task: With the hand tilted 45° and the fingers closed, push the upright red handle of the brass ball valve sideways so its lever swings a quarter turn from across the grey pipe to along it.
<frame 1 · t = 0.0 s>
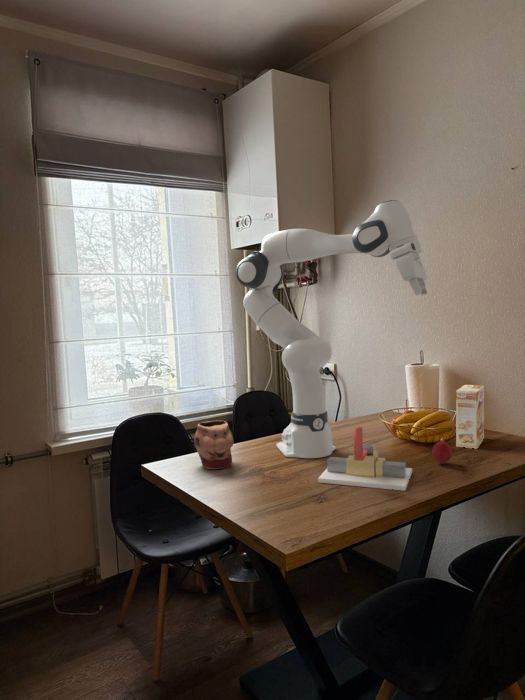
hand: (421, 294, 156), 52 cm above the table, tool tilted 20°, fingers open, 8 cm apart
coffeecake box: (470, 443, 182), on the table
valve and pipe: (366, 477, 150), resting on mounting board
decorative planter: (214, 465, 168), on the table
lever: (362, 439, 145), point 12 cm above the table, hinge at -45.0°
onion: (442, 464, 160), on the table
mounting board: (366, 477, 150), on the table
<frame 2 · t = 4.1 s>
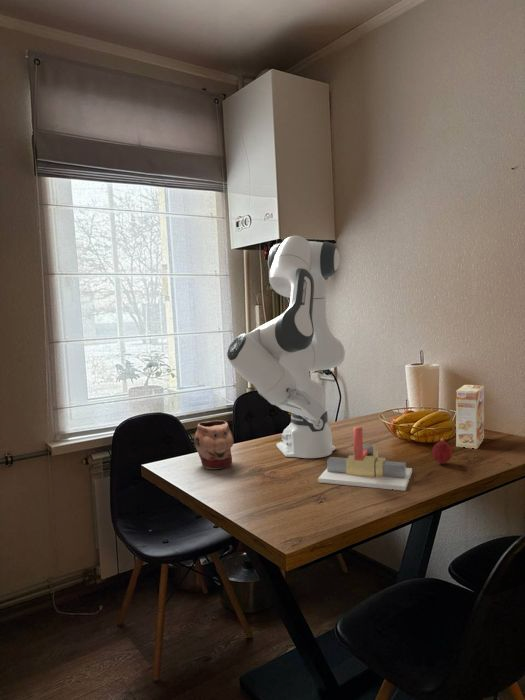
hand: (314, 421, 134), 20 cm above the table, tool tilted 45°, fingers closed
nothing on the table moved.
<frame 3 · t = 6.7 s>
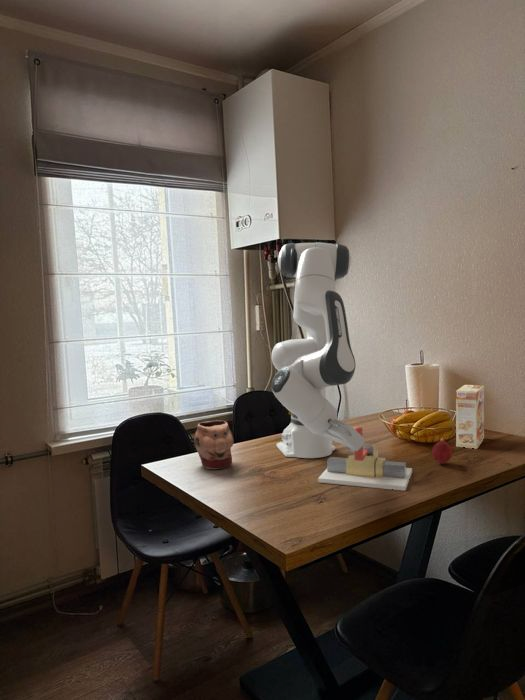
hand: (353, 448, 140), 11 cm above the table, tool tilted 45°, fingers closed, pressing on lever
lever: (362, 439, 145), point 12 cm above the table, hinge at -45.0°, touching gripper
everything else where it was.
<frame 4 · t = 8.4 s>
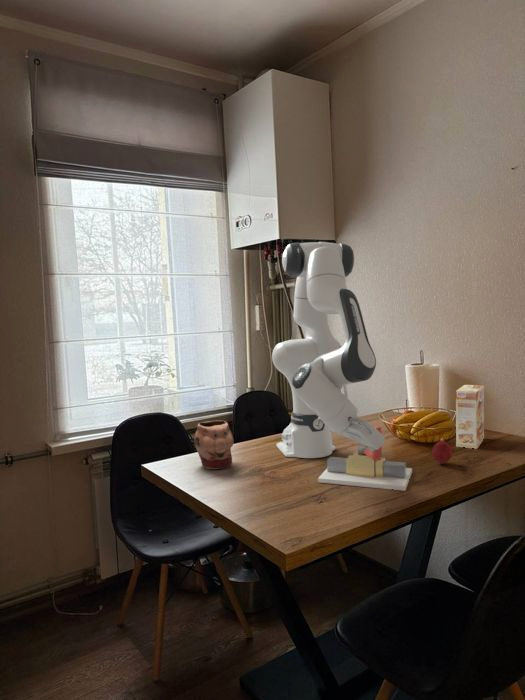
hand: (372, 448, 139), 11 cm above the table, tool tilted 45°, fingers closed, pressing on lever
lever: (370, 439, 145), point 12 cm above the table, hinge at -14.6°, touching gripper
everything else where it was.
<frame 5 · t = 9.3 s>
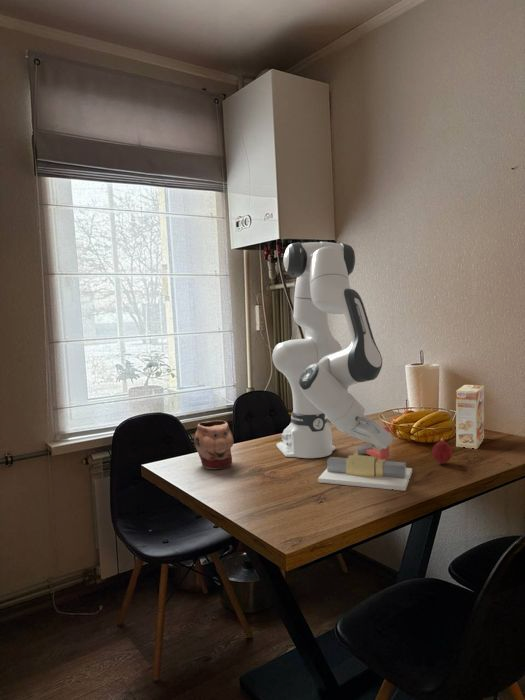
hand: (379, 447, 140), 11 cm above the table, tool tilted 45°, fingers closed, pressing on lever
lever: (373, 439, 145), point 12 cm above the table, hinge at -1.1°, touching gripper
everything else where it was.
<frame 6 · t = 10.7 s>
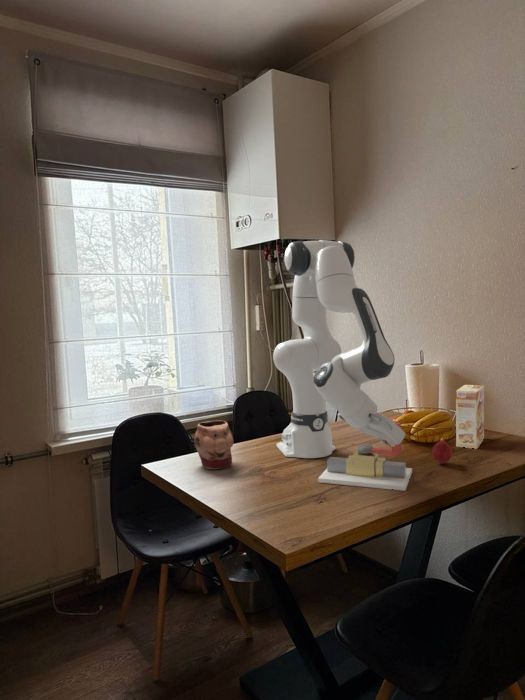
hand: (391, 443, 143), 11 cm above the table, tool tilted 45°, fingers closed, pressing on lever
lever: (378, 437, 147), point 12 cm above the table, hinge at 30.6°, touching gripper
everything else where it was.
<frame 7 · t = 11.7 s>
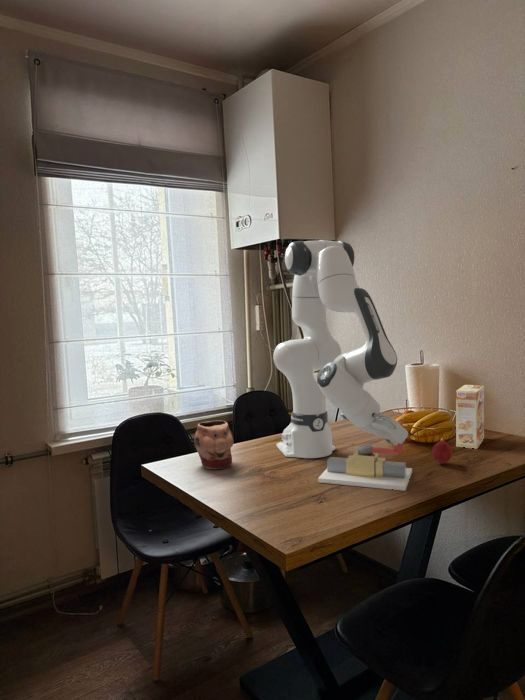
hand: (393, 442, 144), 11 cm above the table, tool tilted 45°, fingers closed
lever: (379, 437, 147), point 12 cm above the table, hinge at 40.3°, touching gripper
everything else where it was.
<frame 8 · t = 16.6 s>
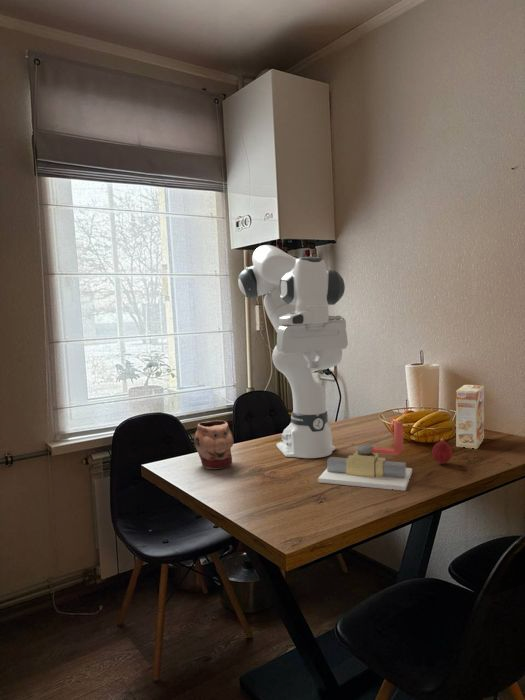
hand: (313, 367, 142), 33 cm above the table, tool pointing down, fingers closed
lever: (379, 437, 147), point 12 cm above the table, hinge at 40.4°
everything else where it was.
at the end: lever at +40° (first picture: -45°); lever touching nothing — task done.
